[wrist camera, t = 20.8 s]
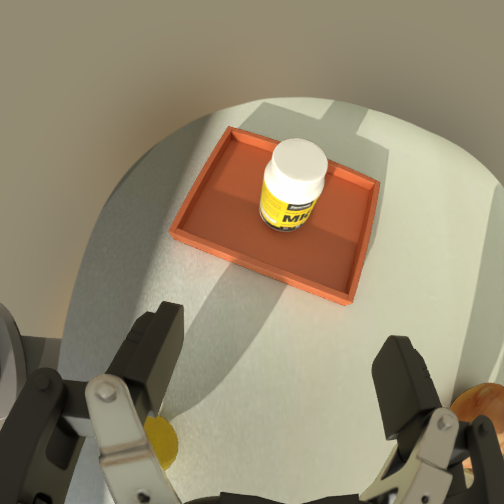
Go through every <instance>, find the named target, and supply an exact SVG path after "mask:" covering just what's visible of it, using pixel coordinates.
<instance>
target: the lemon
mask: <svg viewBox="0 0 504 504" xmlns="http://www.w3.org/2000/svg"><path fill="white" fill-rule="evenodd" d="M143 427H144V429H145V431H146V434H147V436H148V438H149V441H150V443H151V445H152V447H153V450H154V452H155V454H156V456H157V458H158V460H159V462H160V464H161V466H162V468H163V470H164V471H165V470H166V469H168V468H169V467H170V465H171V464H172V463H173V462H174V460H175V458H176V455H177V452H178V439H177V435H176V433H175V431H174V429H173V427H172V426H171V425H170V424H169V422H168V421H166V420H165V419H164V418H162V417H161V416H159V415H157V417H156V418H152V417H149V416H147V418H146V421H145V424H144V426H143Z"/></svg>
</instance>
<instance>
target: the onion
mask: <svg viewBox="0 0 504 504" xmlns="http://www.w3.org/2000/svg"><path fill="white" fill-rule="evenodd" d="M450 410H451V411H452V412H454V414H455V415H456V416H457V419H458V420H460V421H465V422H471V421H473V420H474V419H475V418H476V417H477V416H479V415H485V416H487V417H488V418H490V419H491V421H492V422H493V425H494V427H495V431H496V434H497V437H498V441H499V444H500V448H501V452H502V454H503V453H504V386H502V385H500V384H495V383H483V384H480V385H477V386H475V387H472V388H470V389H468V390H467V391H465V392H464V393H462V394H461V395H460V396H459V397H458V398H457V399H456V400H455V401H454V403H453V404H452V405H451V407H450ZM462 464H463V468H472V465H471V460H470V457H469V458H467V459H466V460H464V461H463V462H462Z"/></svg>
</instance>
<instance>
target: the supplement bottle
mask: <svg viewBox="0 0 504 504" xmlns="http://www.w3.org/2000/svg"><path fill="white" fill-rule="evenodd" d="M327 168H328V161H327V157H326V155H325V153H324V152H323V150H322V149H321V148H320V147H319V146H317V145H316V144H314V143H313V142H311V141H308V140H305V139H301V138H291V139H287V140H284V141H282V142H281V143H279V144H278V145H277V146H276V147H275V149H274V151H273V154H272V159H271V160H270V161H269V163H268V164H267V166H266V168H265V171H264V178H263V184H262V192H261V198H260V206H259V210H260V215H261V217H262V219H263V221H264V222H265V223H266V224H267V225H268V226H269V227H270V228H272V229H274V230H276V231H280V232H292V231H295V230H297V229H299V228H300V227H301V226H302V225H303V224H304V223H305V222H306V220H307V218H308V217H309V215H310V213H311V211H312V209H313V207H314V206H315V204H316V202H317V200H318V198H319V196H320V194H321V192H322V190H323V187H324V177H325V174H326V172H327Z"/></svg>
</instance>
